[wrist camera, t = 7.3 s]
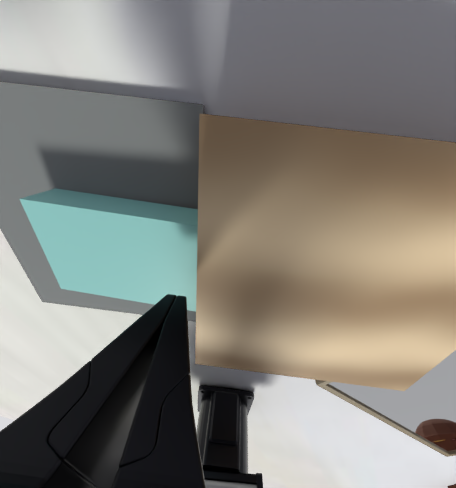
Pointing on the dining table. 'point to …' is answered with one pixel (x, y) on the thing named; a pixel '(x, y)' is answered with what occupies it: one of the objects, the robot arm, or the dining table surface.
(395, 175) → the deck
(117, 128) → the mat
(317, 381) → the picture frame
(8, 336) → the dining table surface
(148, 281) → the teal rectangular block
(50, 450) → the robot arm
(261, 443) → the dining table surface
